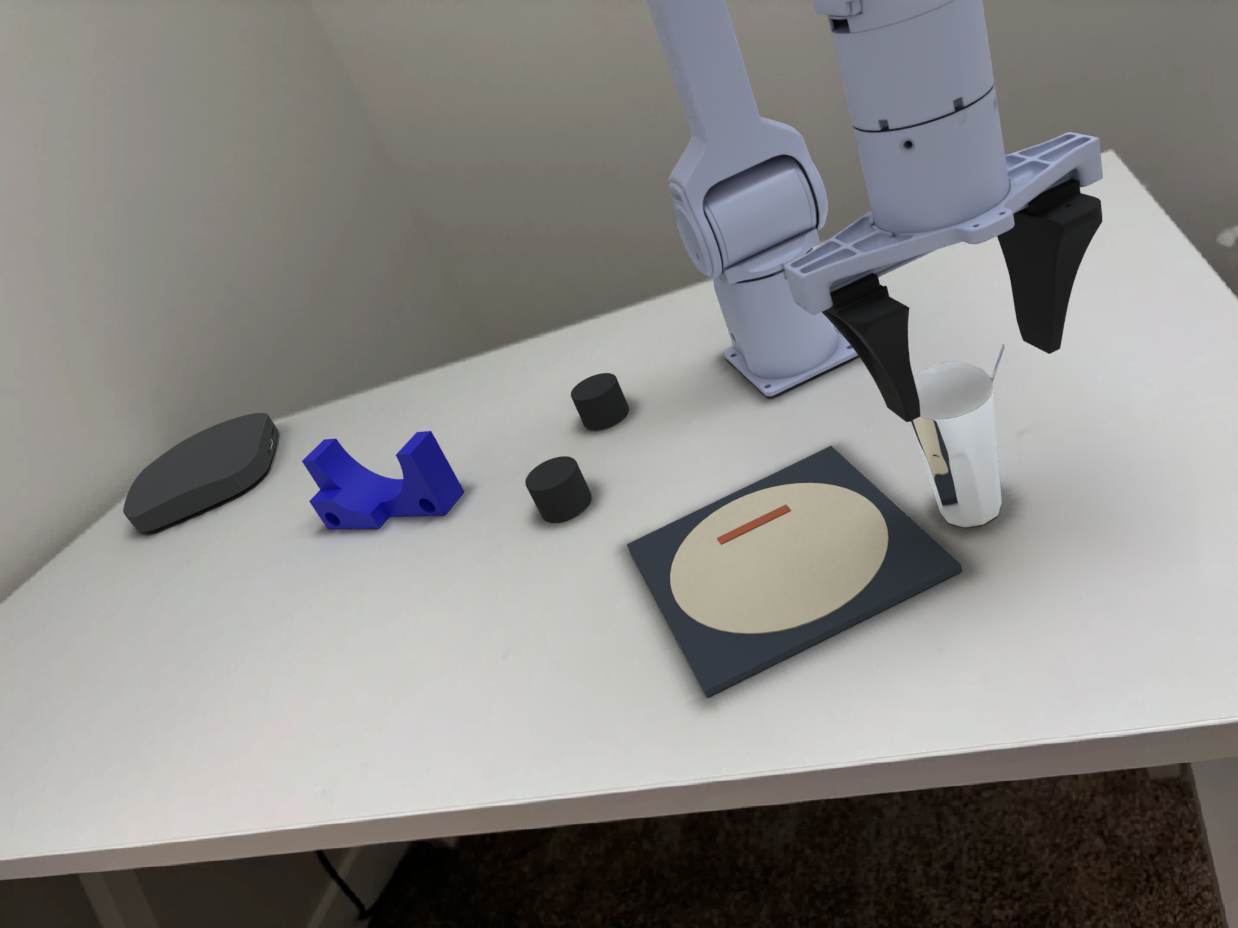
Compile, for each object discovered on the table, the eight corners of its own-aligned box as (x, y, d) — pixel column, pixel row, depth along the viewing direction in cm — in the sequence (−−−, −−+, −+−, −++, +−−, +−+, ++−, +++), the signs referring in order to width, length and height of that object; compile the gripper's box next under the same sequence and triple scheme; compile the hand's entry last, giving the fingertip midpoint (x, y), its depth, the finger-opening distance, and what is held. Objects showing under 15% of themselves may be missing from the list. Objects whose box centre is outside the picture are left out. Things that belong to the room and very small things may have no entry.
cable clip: (327, 528, 80) (290, 472, 77) (358, 495, 83) (323, 439, 80) (434, 527, 73) (399, 466, 70) (464, 491, 76) (431, 430, 73)
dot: (579, 417, 80) (565, 387, 78) (621, 397, 80) (609, 367, 79) (590, 436, 76) (576, 406, 75) (635, 415, 77) (622, 384, 75)
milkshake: (1036, 526, 51) (1010, 368, 46) (932, 541, 53) (896, 391, 48) (1023, 475, 54) (998, 324, 49) (926, 491, 56) (892, 347, 51)
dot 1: (536, 504, 71) (520, 472, 69) (584, 481, 71) (570, 448, 70) (546, 530, 67) (530, 497, 66) (597, 506, 68) (582, 473, 66)
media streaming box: (128, 545, 91) (109, 522, 90) (162, 473, 104) (145, 452, 102) (268, 485, 91) (251, 460, 90) (284, 420, 104) (270, 398, 102)
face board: (628, 549, 62) (625, 541, 62) (832, 451, 63) (830, 442, 63) (707, 697, 49) (703, 688, 49) (962, 571, 50) (960, 561, 50)
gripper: (807, 193, 36) (882, 479, 42) (1144, 36, 36) (1164, 341, 43) (737, 163, 42) (812, 417, 48) (1027, 29, 42) (1061, 297, 49)
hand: (972, 378), depth 46 cm, fingers open, 7 cm apart
